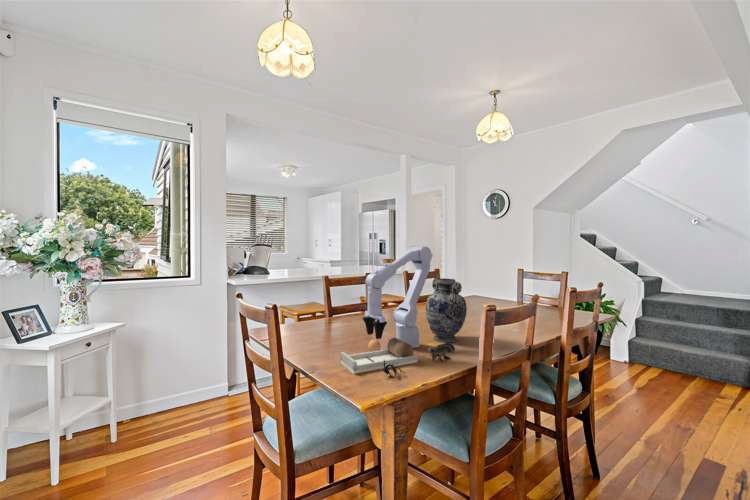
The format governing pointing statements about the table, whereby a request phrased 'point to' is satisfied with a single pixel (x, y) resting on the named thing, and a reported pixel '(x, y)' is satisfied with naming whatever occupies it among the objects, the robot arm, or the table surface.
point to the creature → (392, 368)
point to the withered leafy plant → (441, 351)
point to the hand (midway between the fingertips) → (374, 336)
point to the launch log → (400, 348)
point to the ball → (374, 345)
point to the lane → (374, 360)
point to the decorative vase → (446, 310)
